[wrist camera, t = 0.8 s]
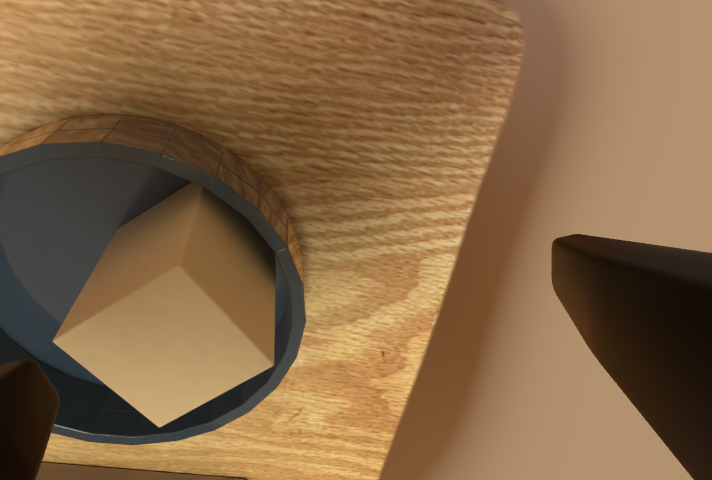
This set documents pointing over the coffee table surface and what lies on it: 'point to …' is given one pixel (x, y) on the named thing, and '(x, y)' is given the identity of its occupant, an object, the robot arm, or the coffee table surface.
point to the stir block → (177, 306)
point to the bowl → (91, 237)
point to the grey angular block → (111, 474)
